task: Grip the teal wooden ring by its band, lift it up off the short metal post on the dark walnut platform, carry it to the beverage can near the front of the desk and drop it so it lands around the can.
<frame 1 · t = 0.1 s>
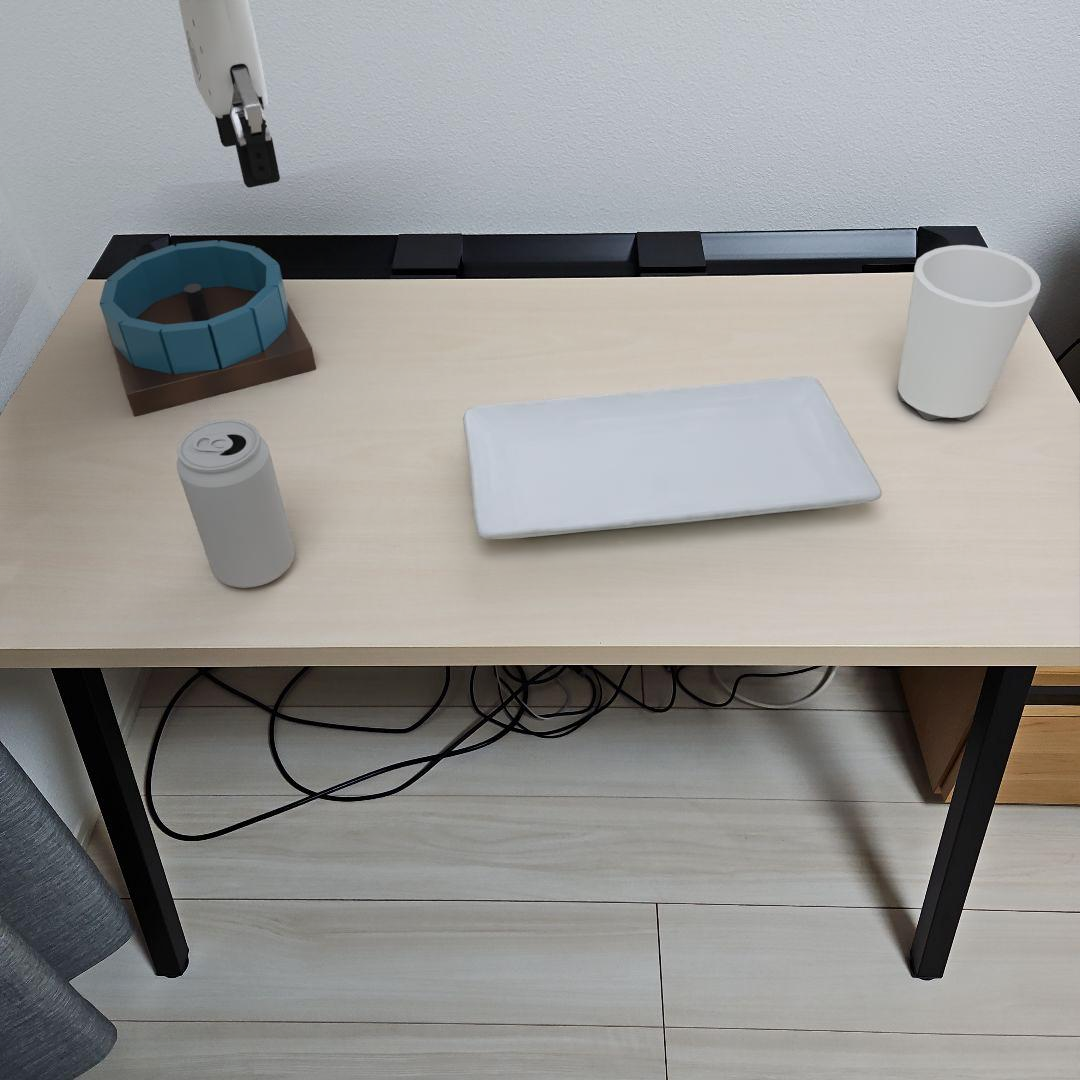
hand: (250, 162, 98), 15 cm above the table, tool pointing down, fingers open, 9 cm apart
tray: (659, 481, 87), on the table
ring: (202, 324, 101), point 2 cm above the table, touching platform
cup: (938, 401, 94), on the table
platform: (208, 346, 103), on the table
beverage can: (255, 566, 81), on the table
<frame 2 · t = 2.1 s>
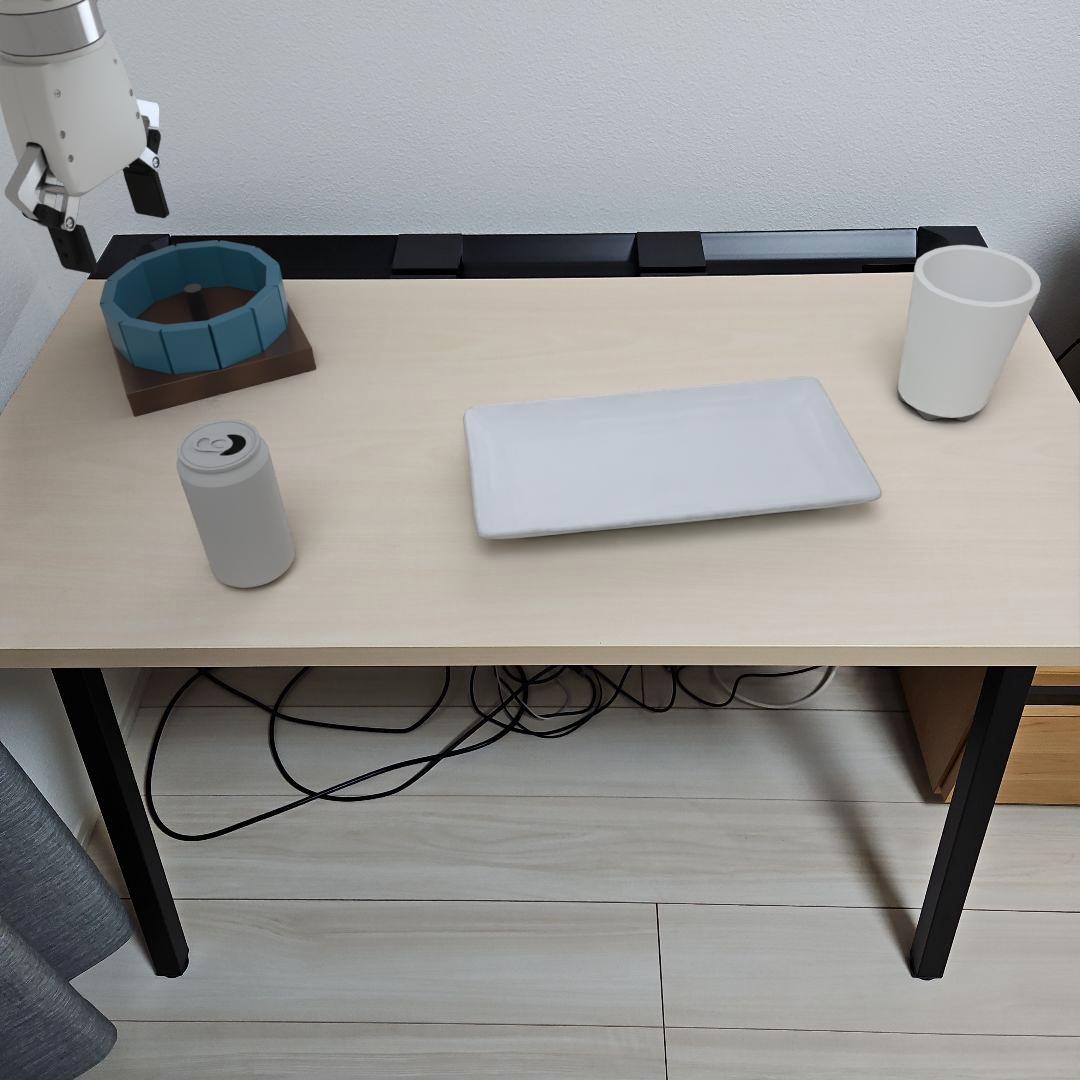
hand: (118, 241, 88), 15 cm above the table, tool pointing down, fingers open, 9 cm apart
nothing on the table moved.
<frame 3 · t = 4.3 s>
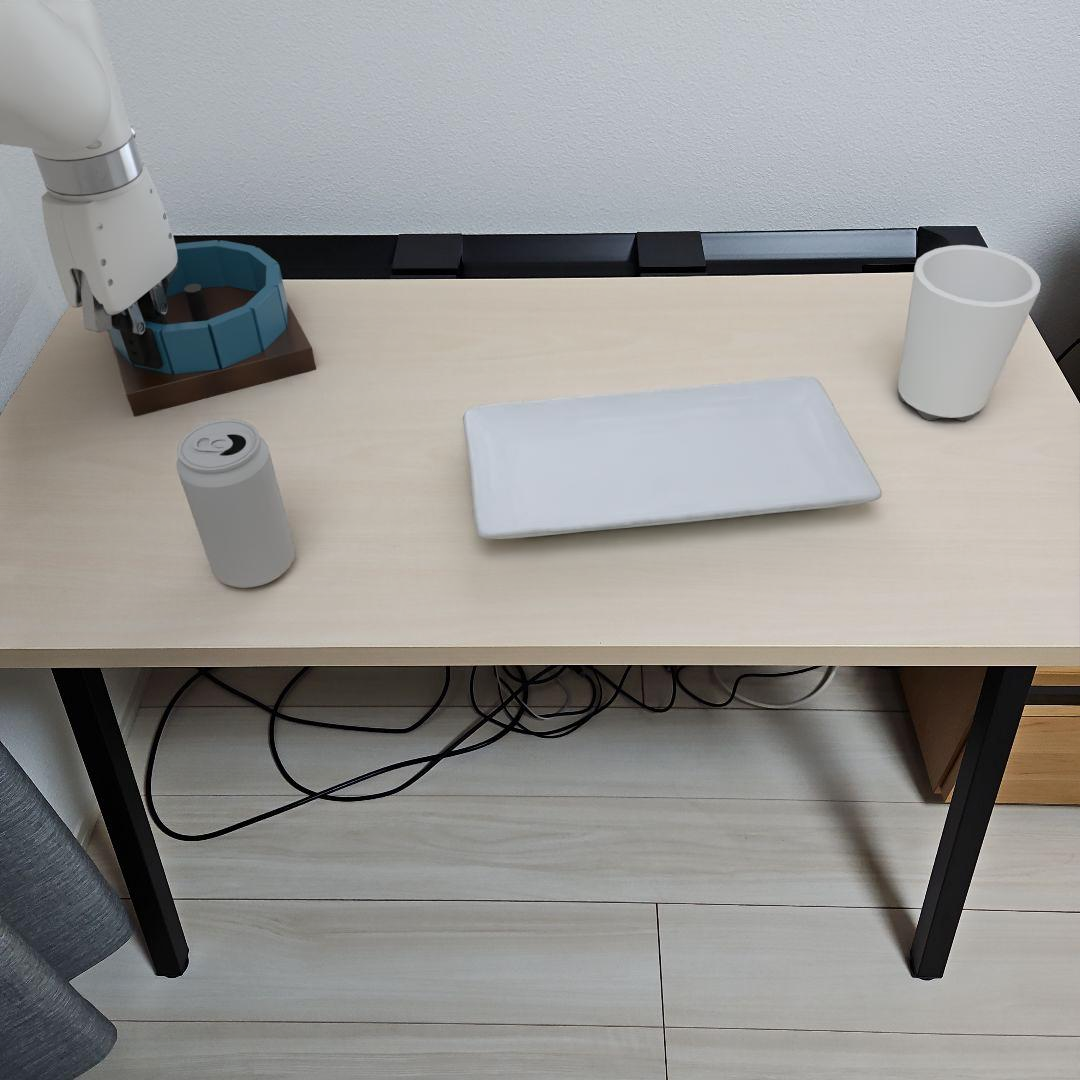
hand: (153, 358, 95), 3 cm above the table, tool pointing down, fingers closed on ring
ring: (202, 324, 101), point 3 cm above the table, touching gripper, platform
everything else where it was.
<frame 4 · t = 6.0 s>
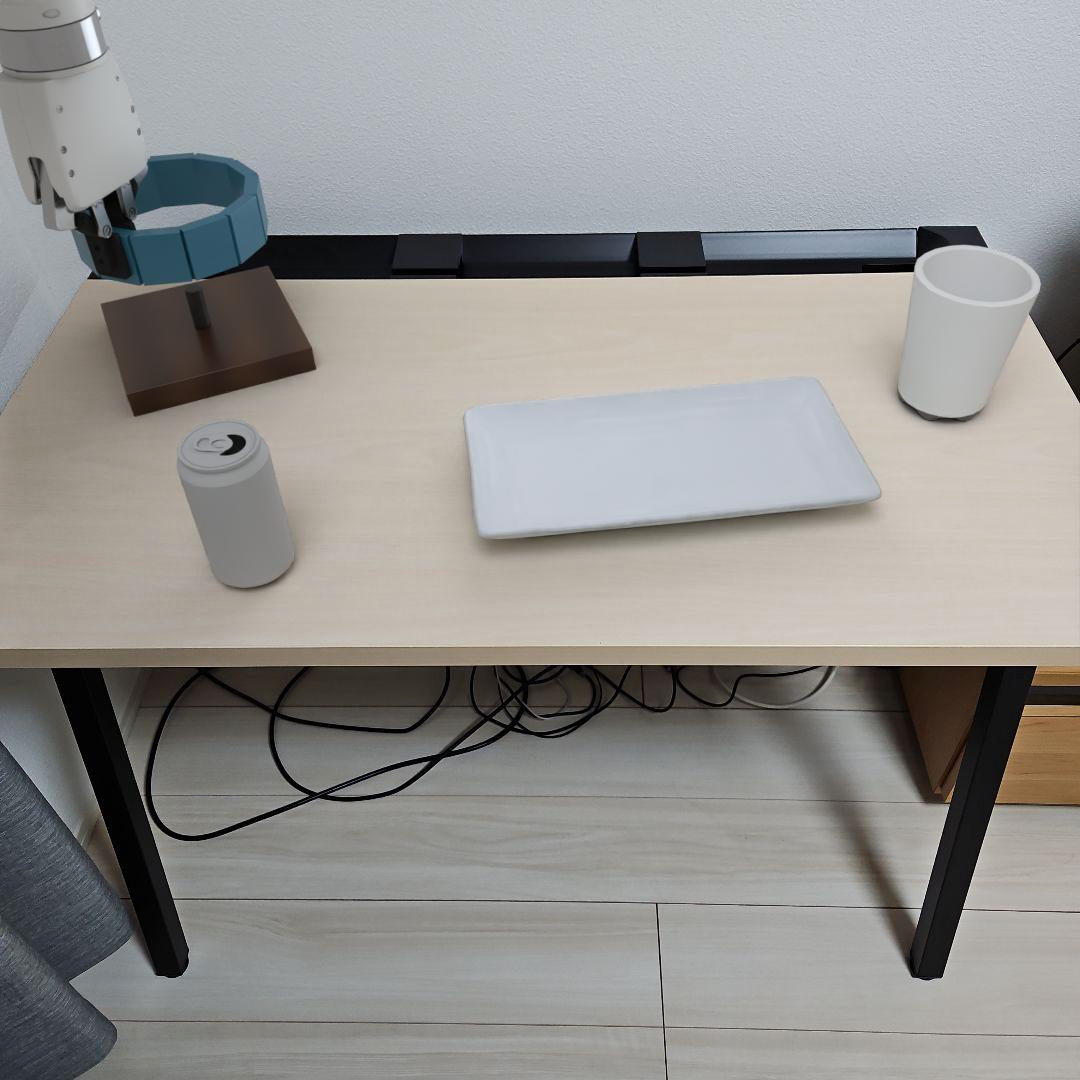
hand: (122, 269, 89), 13 cm above the table, tool pointing down, fingers closed on ring
ring: (176, 239, 95), point 12 cm above the table, touching gripper
everything else where it was.
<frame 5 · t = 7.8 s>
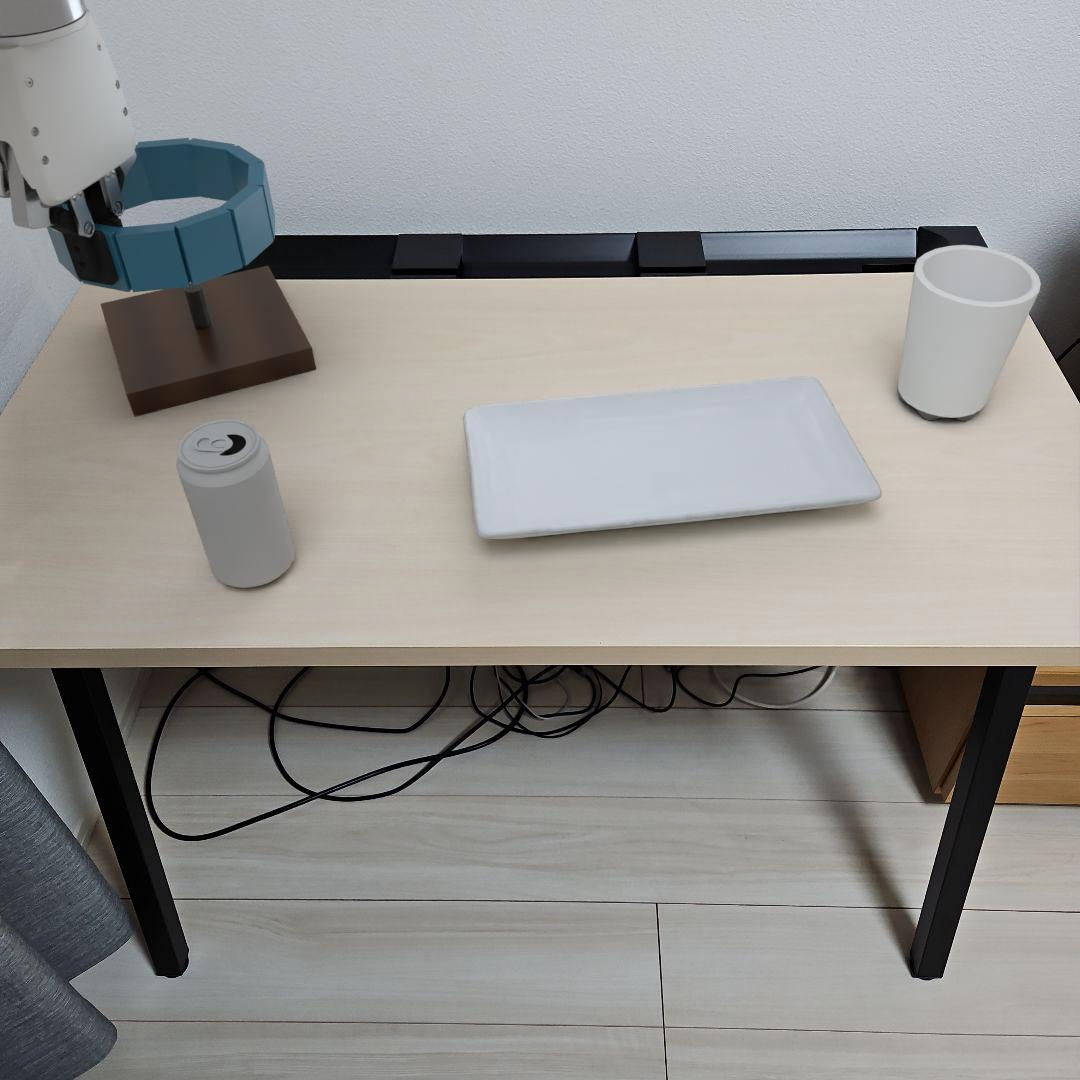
hand: (106, 273, 76), 19 cm above the table, tool pointing down, fingers closed on ring
ring: (170, 237, 82), point 18 cm above the table, touching gripper
everything else where it was.
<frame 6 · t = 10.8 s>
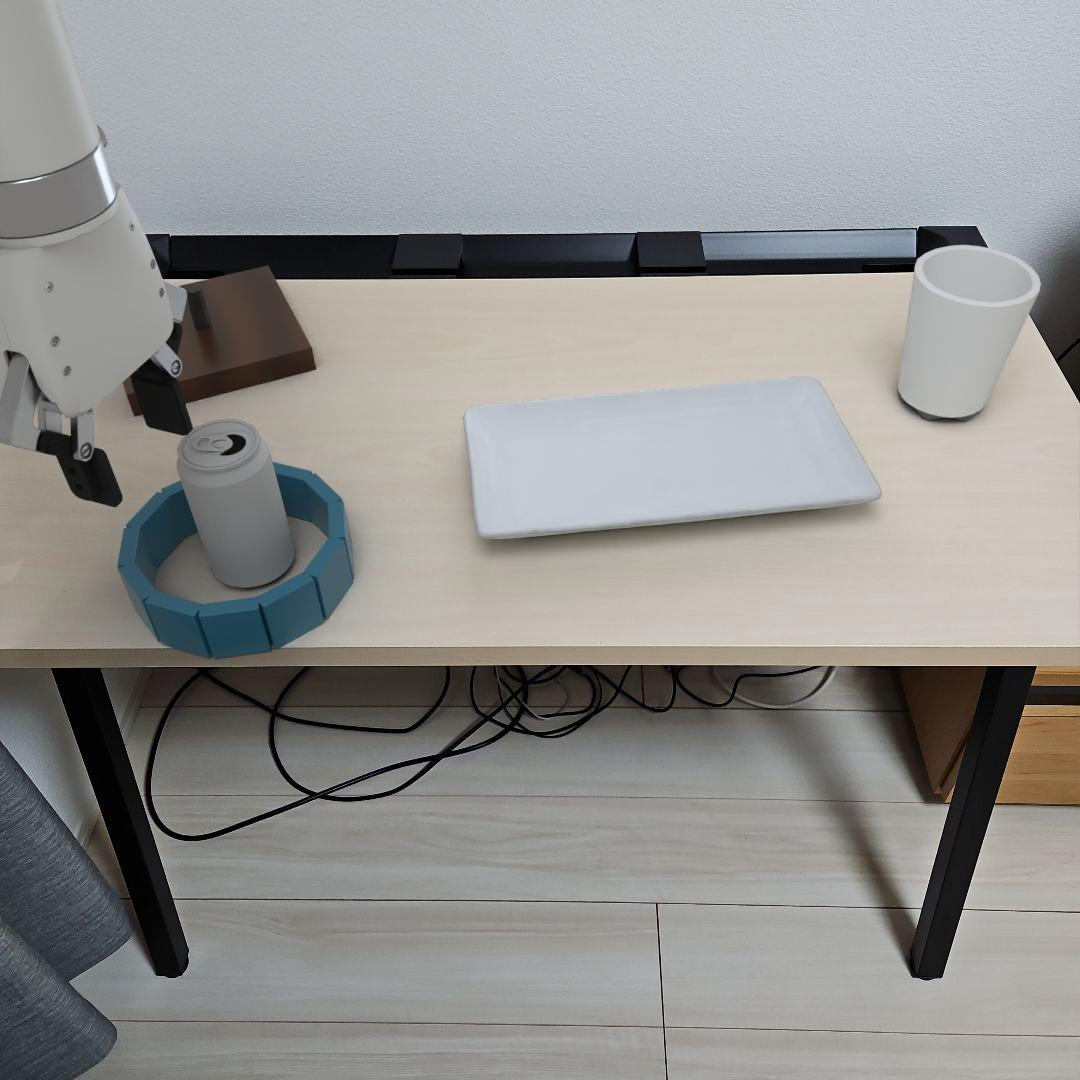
hand: (135, 461, 65), 16 cm above the table, tool pointing down, fingers open, 6 cm apart
ring: (246, 574, 80), on the table
everything else where it was.
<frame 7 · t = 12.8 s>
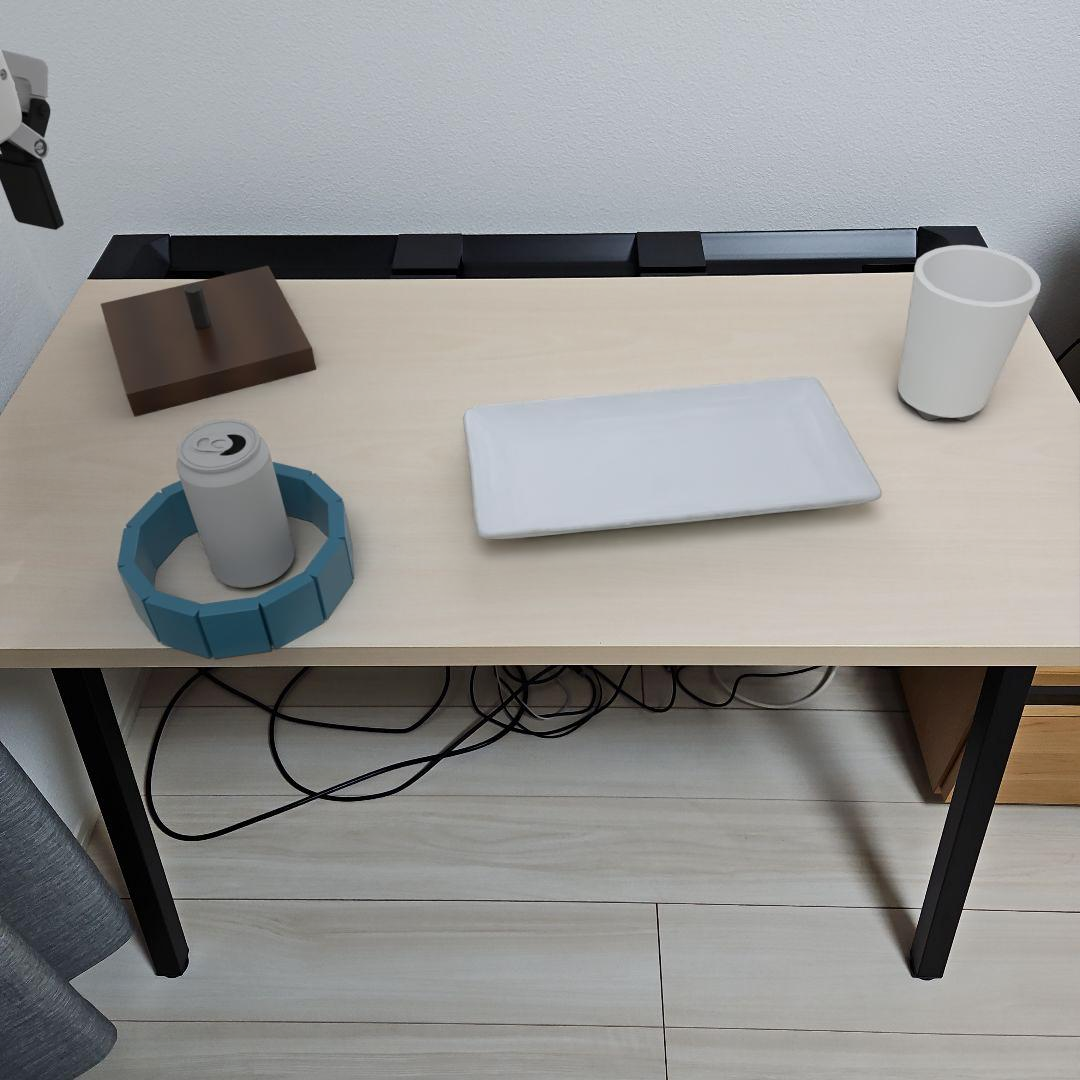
nothing on the table moved.
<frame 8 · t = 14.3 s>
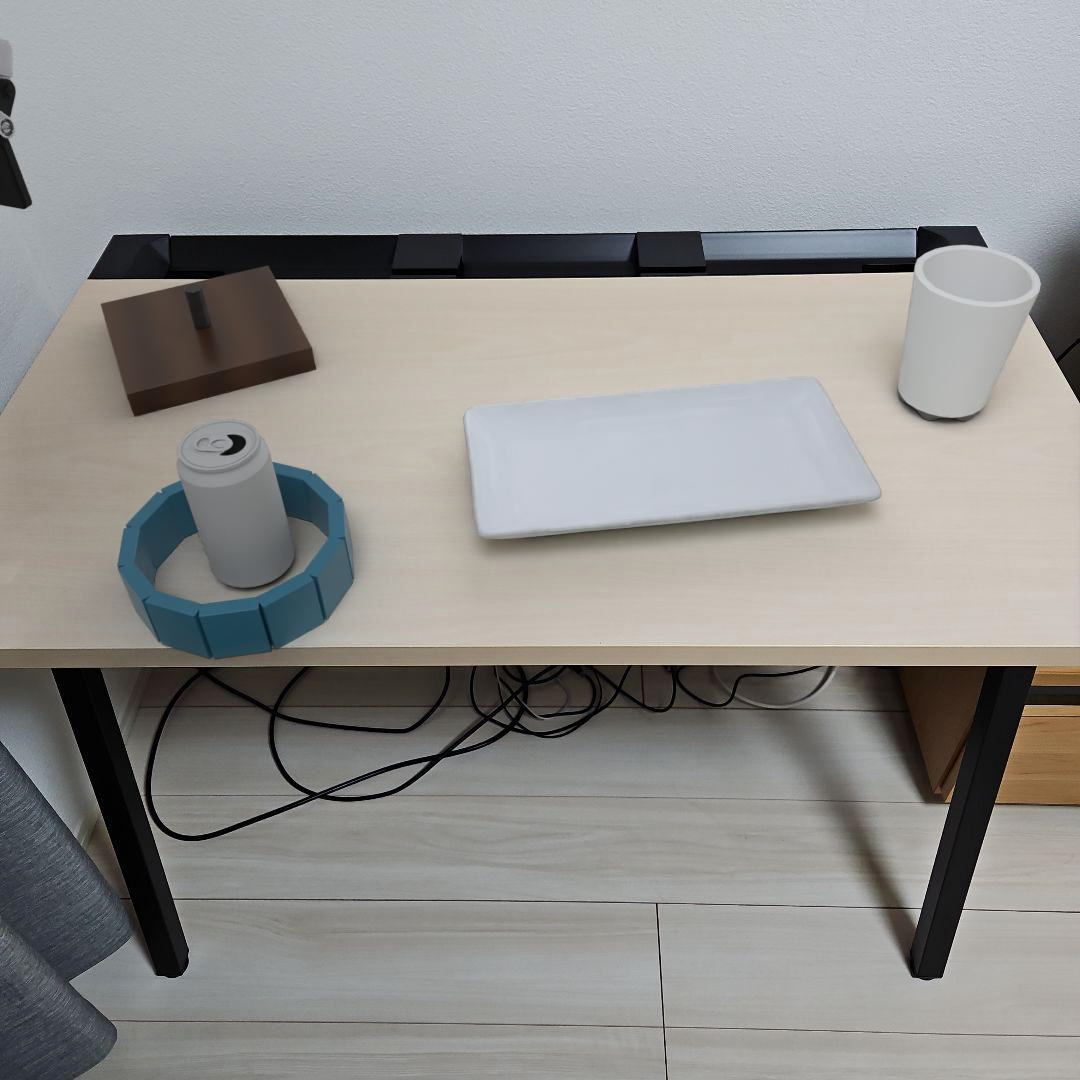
nothing on the table moved.
at the end: ring on the table; ring 1.2 cm from the beverage can (horizontally); the gripper is holding nothing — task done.
